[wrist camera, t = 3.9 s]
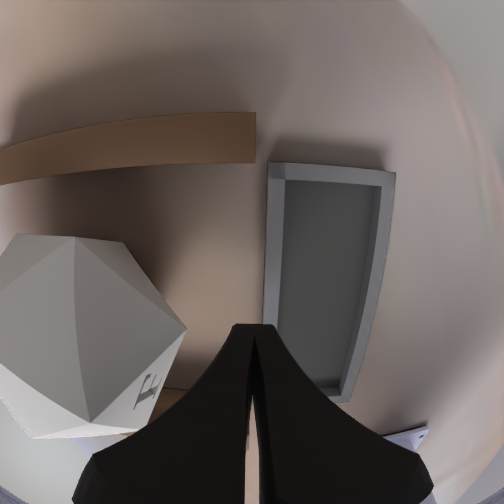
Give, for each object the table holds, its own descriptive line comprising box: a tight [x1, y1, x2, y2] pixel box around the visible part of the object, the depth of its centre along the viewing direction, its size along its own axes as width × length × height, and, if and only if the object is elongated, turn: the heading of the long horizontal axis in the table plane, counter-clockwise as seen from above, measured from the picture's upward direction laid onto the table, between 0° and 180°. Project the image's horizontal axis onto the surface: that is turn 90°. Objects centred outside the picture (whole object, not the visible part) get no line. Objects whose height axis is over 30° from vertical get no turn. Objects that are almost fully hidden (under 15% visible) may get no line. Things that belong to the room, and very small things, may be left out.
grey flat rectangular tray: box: [262, 162, 396, 403], centre depth 12 cm, size 12×5×1 cm, turn 179°
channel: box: [0, 112, 256, 450], centre depth 11 cm, size 15×13×3 cm
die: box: [0, 234, 187, 438], centre depth 9 cm, size 8×9×10 cm
